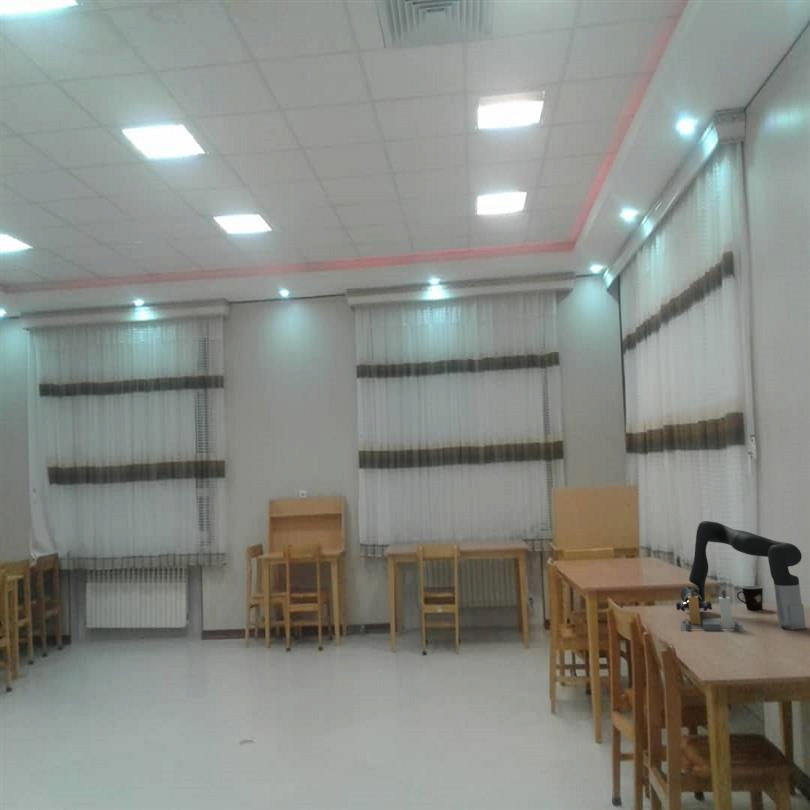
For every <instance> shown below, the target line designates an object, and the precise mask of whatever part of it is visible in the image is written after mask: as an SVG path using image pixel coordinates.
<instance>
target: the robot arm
mask: <svg viewBox="0 0 810 810" xmlns="http://www.w3.org/2000/svg"><path fill="white" fill-rule="evenodd" d="M695 535H696V536H695V545H694V555H693V556H694V557H693V562H692V567H691V569H690V573H689V578H688V580H689V582H690V583H691V584H693V585H695V586H696V587H698V588H694V587H692V586H684V587H683V588H682V589H681V591H680V599H681V601H682V602H683V603H682V602H681V601H676V610H677V611H683V612H685V611H689V603H688V596H691V591H690V589H694V596H698V602H699V612H700V611H704V612H707V611H708V610H713V608H712V607H713V606H712V602H711V601H710V600H709V601H706V602H705V599H706V594H705V587H706V580H707V578H708V577H707V576H708V572H709V561H708V558H707V545H708V543H709V542H710V543H717V544H724V545H728V546H731V547H732V548H733V549H734V550H735V551H737V552H740V553H743V554H746V555H749V556H755V557H764V558H765V557H767V560H768V565H769V571H770V575H771V578H772V581H773V585H774V588H773V589H774V595H775V596H774V597H775V604H776V611H777V621H778V626H780V627H781V629H784V630H791V631H794V630H795V629H796V630H803V629H806V628H807V626H806V617H805V610H804V604H803V603H802V595H801V588H800V580H799V579H800V578H799V577H798V576H796V575H794V574H791V573H790V570H789V569H790V568H789V567H794V566H797V565H799V563H800V562H801V561H802V552H801V550H800V549H799V548H798V547H797V545H794V544H792V543H788V542H784V541H783V542H782V541H778V540H773V539H770V538H768V537H764V536H761V535H759V534H755V533H752V532H750V531H749V532H748V531H744V530H741V529H734V528H731V527H729V526H727V525H724V524H723V523H719V522H716V521H709V520H708V521H707V520H703V521H701V522H700V523H699V524H698V526H697V529H696V534H695Z"/></svg>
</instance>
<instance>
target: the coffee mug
mask: <svg viewBox="0 0 810 810" xmlns="http://www.w3.org/2000/svg"><path fill="white" fill-rule="evenodd" d="M763 588H764V587H763V586H760V585H745V586H742V587H741V589H742V591H738V592H737V594H736V596H737V599H738V600H739V601H740V602H741V603H743V604H745V606H746V610H747V609H748V610H747V611H749V610H753V611H752V612H760V611H759V610H761V611H762V610H763ZM740 594H743V598H744V600H742V599H741V598H740V596H739V595H740Z"/></svg>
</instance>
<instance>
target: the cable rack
mask: <svg viewBox="0 0 810 810" xmlns="http://www.w3.org/2000/svg"><path fill="white" fill-rule="evenodd" d="M701 620H702V624H689V619H688V618H685V619H684V623H685V624H680V632H745V628H744V626H743V624H739V622H738V619H737V618H732V622H733V629H722V624H721V623H720V619H719V618H702V619H701Z"/></svg>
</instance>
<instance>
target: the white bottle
mask: <svg viewBox="0 0 810 810" xmlns="http://www.w3.org/2000/svg"><path fill="white" fill-rule="evenodd" d="M718 603H719V604H718V605H719V613H720V614H719V615H720V620H721V623H720V624H721V625H722V629H733V625H734V622H733V617H732V616H733V615H732V608H731V598H730V596H727V593H726V590H724V589H721V596H719V597H718Z"/></svg>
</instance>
